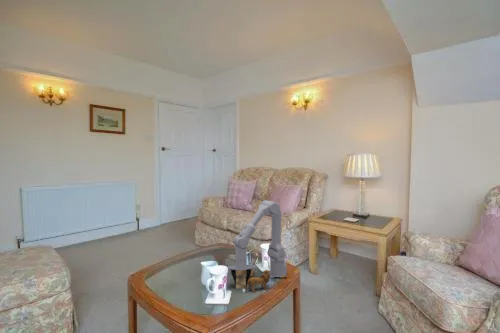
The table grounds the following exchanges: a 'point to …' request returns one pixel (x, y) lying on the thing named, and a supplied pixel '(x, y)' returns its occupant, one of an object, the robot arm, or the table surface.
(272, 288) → the table surface
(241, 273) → the walnut block
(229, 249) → the table surface
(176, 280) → the table surface
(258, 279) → the lion figurine
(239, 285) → the maple cube
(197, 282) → the table surface
